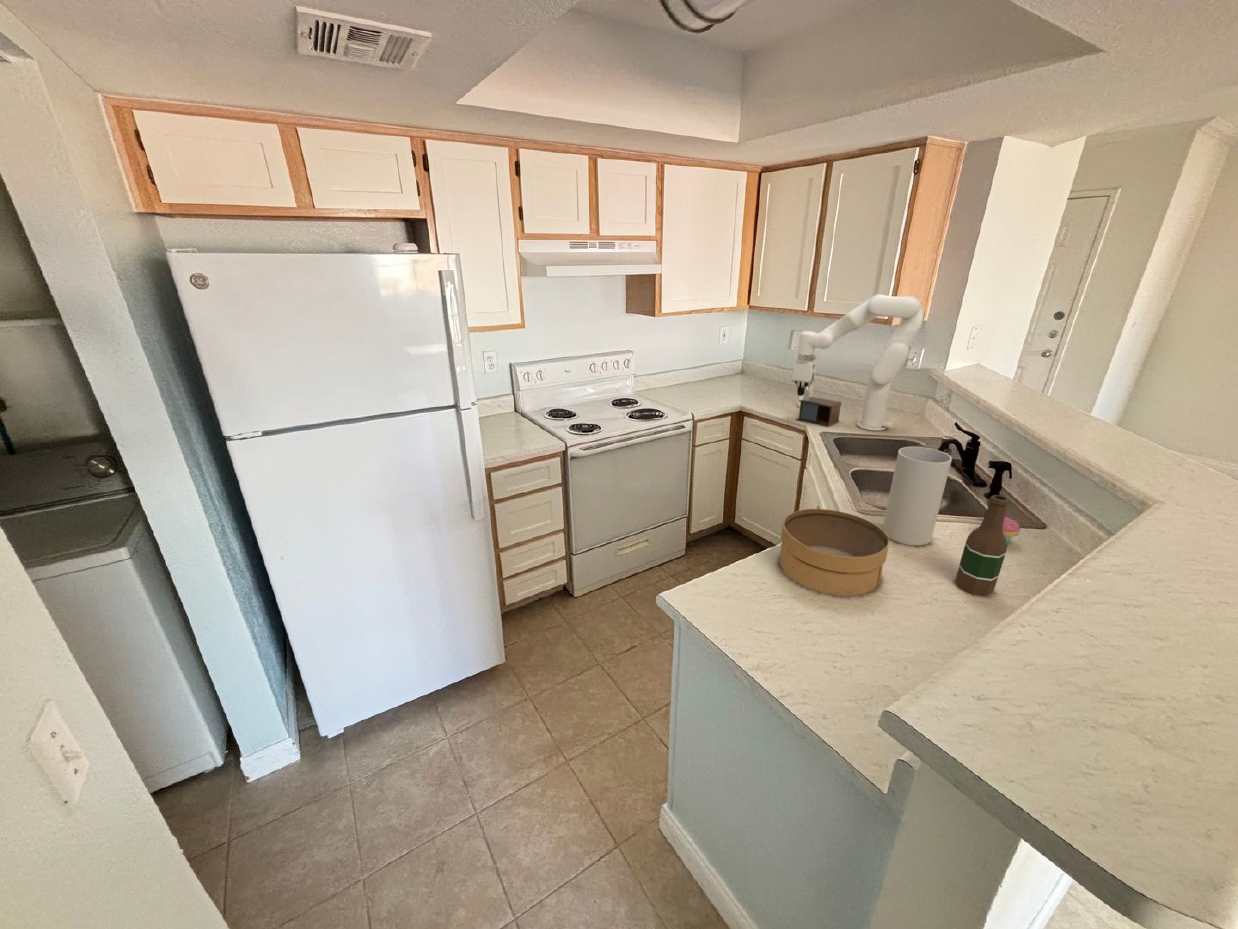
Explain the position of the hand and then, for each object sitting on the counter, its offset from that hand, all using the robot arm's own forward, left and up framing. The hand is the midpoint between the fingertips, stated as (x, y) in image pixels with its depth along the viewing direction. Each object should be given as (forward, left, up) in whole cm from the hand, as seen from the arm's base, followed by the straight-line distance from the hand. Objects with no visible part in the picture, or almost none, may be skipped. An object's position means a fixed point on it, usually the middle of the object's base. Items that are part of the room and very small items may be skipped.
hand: (800, 395), depth 248 cm
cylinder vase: (-78, +86, -13) cm, 117 cm away
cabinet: (-8, -6, -13) cm, 16 cm away
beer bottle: (-98, +101, -13) cm, 142 cm away
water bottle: (+9, -25, -13) cm, 29 cm away
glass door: (-6, 0, -12) cm, 13 cm away
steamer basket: (-70, +118, -13) cm, 138 cm away
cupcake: (-97, +71, -13) cm, 121 cm away
